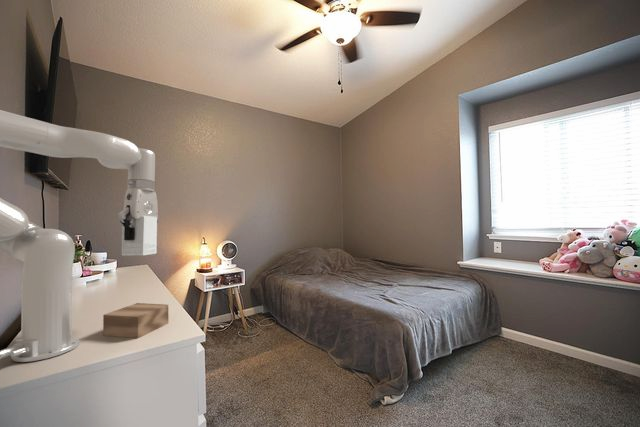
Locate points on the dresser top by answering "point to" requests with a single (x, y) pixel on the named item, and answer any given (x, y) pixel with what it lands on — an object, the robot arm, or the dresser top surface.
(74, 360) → the dresser top surface
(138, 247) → the supplement box
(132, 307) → the walnut block
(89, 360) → the dresser top surface
